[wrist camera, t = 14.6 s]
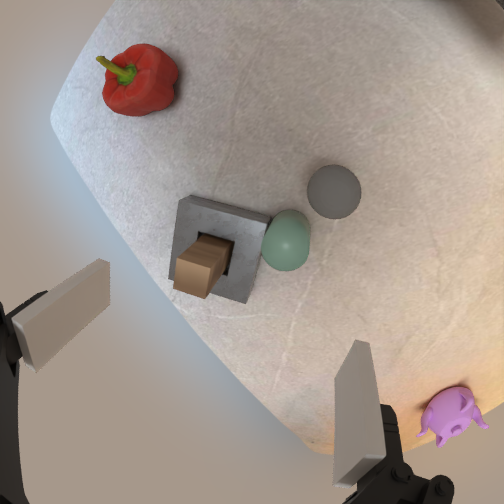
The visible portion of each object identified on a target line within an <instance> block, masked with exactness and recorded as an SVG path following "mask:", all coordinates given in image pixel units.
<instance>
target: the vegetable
mask: <svg viewBox="0 0 504 504" xmlns="http://www.w3.org/2000/svg"><path fill="white" fill-rule="evenodd" d="M96 60H97V61H98V62H100V63H101V64H102V65H103V66H104V67H106V68H107V70H106V73H105V79H106V82H105V85H104V88H103V92H102V95H103V99H104V101H105V103H106V105H107V106H108V107H109V108H110V109H111V110H112V111H114V112H116V113H118V114H123V115H127V116H143V115H146V114H149V113H150V112H151V111H160V110H163V109H165V108H166V107H168V106H169V104H170V103H171V102H172V100H173V98H174V90H173V86H172V85H173V84H174V83H175V81H176V80H177V78H178V69H177V66H176V64H175V63H174V61H173V60H172V59H171V58H170V57H169V56H168V55H167V54H166V53H165V52H163V51H162V50H161V49H159V48H157V47H155V46H152V45H149V44H136V45H133V46H131V47H129V48H128V49H127V50H125V51H124V52H123V53H120V54H118V55H117V56H115V57H114V58H113V59H112V60H111V61H109V60H108V59H106V58H105V56H98V57H96Z"/></svg>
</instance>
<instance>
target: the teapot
mask: <svg viewBox="0 0 504 504" xmlns="http://www.w3.org/2000/svg"><path fill="white" fill-rule="evenodd" d="M472 419H473V420H475V422H476V423H477V424H478V425H479V426H480V427H481V428H484V429H487V428H489V426H488V425H487V424H485V422H484V421H483V419H482V416H481V412H480V410H479V408H478V407H477V406H476V405H475V403H474V396H473V393H472V392H471V391H470V390H469V389H467V388H464V387H452V388H449V389H446V390H444V391H442V392H440V393H439V394H437V395H436V396H435V397H434V398H433V399H432V400H431V401H430V403H429V404H428V406H427V408H426V410H425V411H424V413H423V414H422V417H421V427H422V429H421V432H420V433H419V434H418V435H417V436H416V437H419V436H422V435H424V434H425V433H426V432H427V430H428V427H429V428H430V429H431V430H432V431H433V432H434V433H436V444H437V447H442V446H443V445H444V444H445V442H446V441H447V439H448V438H449V437H453V436H457V435H459V434H460V433H461V432H463V431H464V430H465V429H466V428H467V427H468V426H469V424H470V422H471V420H472ZM442 437H443V438H442Z"/></svg>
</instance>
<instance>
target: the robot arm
mask: <svg viewBox="0 0 504 504" xmlns="http://www.w3.org/2000/svg"><path fill="white" fill-rule="evenodd" d="M496 1H497V3H498V4H499V5H500V6H501V7H502V8H503V9H504V0H496ZM109 305H110V262H107V261H104V260H102V259H97V260H96V261H94V262H93V263H91V264H90V265H88V266H86V267H85V268H83V269H82V270H80V271H79V272H77V273H76V274H74V275H73V276H71V277H70V278H68V279H66V280H65V281H63V282H62V283H60V284H59V285H58V286H56V287H55V288H53V289H52V290H50V291H49V292H48V291H47V290H46V291H43V292H40V293H37V294H36V295H34V296H33V297H31V298H30V300H27V301H25V302H24V304H23V303H22V304H21V305H20V306H18V307H17V308H15V309H14V310H13V311H11V312H10V313H8V314H7V315H6V316H5V313H4V310H3V305H2V303H1V302H0V504H29V502H28V500H27V498H26V496H25V493H24V488H23V482H22V474H21V464H20V453H19V438H18V383H19V367H20V365H19V359H20V358H21V357H22V356H23V359H24V362H25V365H26V366H27V367H28V368H30V369H31V370H33V371H34V372H35V373H37V372H38V371H39V370H40V369H41V368H42V367H43V366H44V365H45V364H46V363H47V362H48V361H49V360H50V359H51V358H52V357H54V356H55V355H56V354H57V353H58V352H59V351H60V350H61V349H62V348H63V347H64V346H65V345H66V344H67V343H68V342H69V341H70V340H72V339H73V338H74V337H75V336H76V335H77V334H78V333H79V332H80V331H81V330H82V329H84V327H86V326H87V325H88V324H89V323H90V322H91V321H92V320H93V319H94V318H96V317H97V316H98V315H99V314H100V313H101V312H102V311H103V310H105V309H106V308H107V307H108V306H109ZM397 425H398V422H397V417H396V414H395V412H394V410H393V409H392V407H391V406H390V405H384V404H380V401H379V395H378V388H377V382H376V376H375V371H374V365H373V360H372V354H371V349H370V344H369V343H367V342H363V341H359V340H355V341H354V343H353V345H352V347H351V349H350V351H349V353H348V355H347V357H346V358H345V360H344V362H343V364H342V366H341V368H340V369H339V371H338V373H337V375H336V377H335V438H334V468H333V486H334V487H344V488H351V487H352V486H353V485H354V484H356V483H357V491H355V492H354V493H353V494H352V495H350V496H349V497H348V498H346V501H345V502H344V503H342V504H451V503H452V499H453V495H454V485H453V482H452V481H451V480H450V479H449V478H448V477H447V476H444V475H437V476H435V477H434V478H432V479H431V480H428V479H425V478H422V477H419V476H416V475H414V473H413V471H412V469H411V467H410V466H409V465H408V464H407V463H405V462H404V461H403V454H402V447H401V441H400V434H399V428H398V426H397Z"/></svg>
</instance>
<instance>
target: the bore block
mask: <svg viewBox="0 0 504 504" xmlns="http://www.w3.org/2000/svg"><path fill="white" fill-rule="evenodd" d="M270 219H271V217H270V216H267V215H263V214H260V213H256V212H252V211H249V210H245V209H241V208H238V207H234V206H230V205H227V204H223V203H219V202H215V201H211V200H208V199H204V198H200V197H196V196H192V195H189V196H187V197H185V198H183V199H181V200H179V204H178V210H177V216H176V223H175V230H174V237H173V245H172V252H171V260H170V269H169V278H168V279H170V280H173V281H174V277H175V269H176V261H177V257H178V256H180V255H181V254H182V253H183V252H184V251H185V250H186V249H187V248H189V247H190V246H191V245H192V244H193V243H194V242H195V241H197V240H198V239H199V238H200V237H201V236H202V235H203V234H205V233H207V234H211V235H214V236H218V237H221V238H225V239H228V240H231V241H235V245H234V249H233V254H232V258H231V263H230V264H229V265H228V266H227V268H226V269H225V271H224V272H223V273H222V275H221V276H220V278H219V279H218V281H217V282H216V284H215V285H214V287H213V288H212V290H211V291H210V292H209V293H212V294H215V295H218V296H222V297H225V298H228V299H231V300H234V301H237V302H241V303H244V304H246V303H247V301H248V298H249V296H250V294H251V291H252V288H253V284H254V280H255V276H256V273H257V269H258V265H259V261H260V257H261V254H262V252H261V243H262V240H263V238H264V236H265V234H266V232H267V230H268V227H269V223H270Z"/></svg>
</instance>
